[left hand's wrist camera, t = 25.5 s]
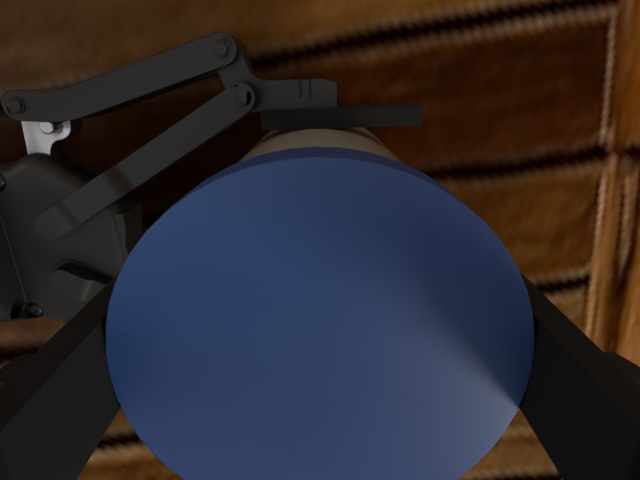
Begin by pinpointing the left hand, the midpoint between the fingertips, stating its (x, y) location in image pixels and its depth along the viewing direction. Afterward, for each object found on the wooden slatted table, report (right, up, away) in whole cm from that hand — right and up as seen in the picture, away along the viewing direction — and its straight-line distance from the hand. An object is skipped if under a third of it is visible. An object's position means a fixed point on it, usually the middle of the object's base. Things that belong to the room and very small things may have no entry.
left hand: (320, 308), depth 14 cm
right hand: (+4, +3, +7) cm, 8 cm away
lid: (0, -1, -3) cm, 3 cm away
